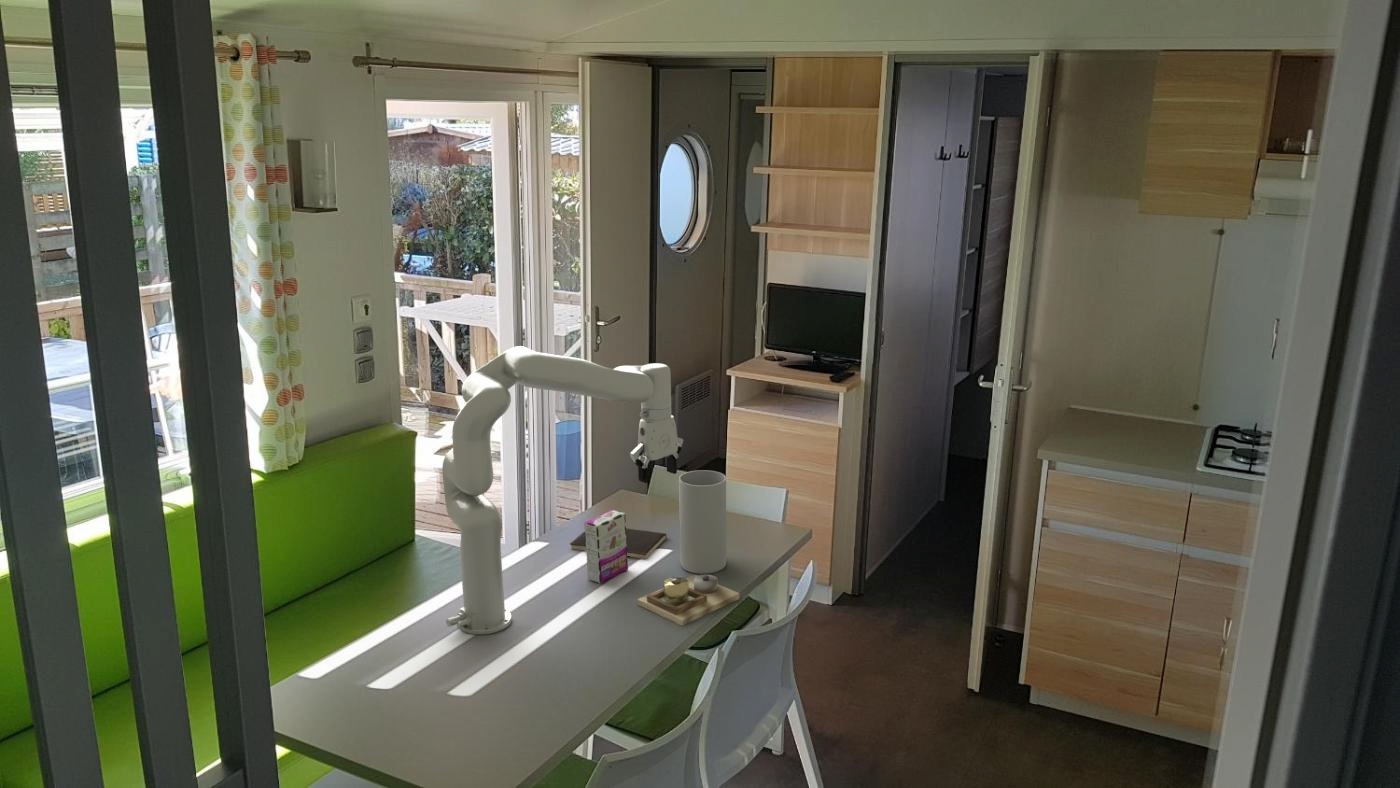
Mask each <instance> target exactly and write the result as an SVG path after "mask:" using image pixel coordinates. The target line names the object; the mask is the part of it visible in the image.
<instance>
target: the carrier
mask: <svg viewBox="0 0 1400 788" xmlns="http://www.w3.org/2000/svg"><path fill="white" fill-rule="evenodd" d="M685 579H687V580H688V586H689V601H688V602H686V603H684V604H682V605H679V606H673V605H671V604H669V603H667V602H665V601H664V587H662V588H660V589H658V590H656V591H654V592H651V593H649V594H646V595H644V596H641V597H640V598H637V606H640V607H641V608H643V609H646V610H648V611H650V612H652V613H654V614H656V615H659V616H660V617H662V618H664V619H667V620H668V621H671V622H673V623H675V624H677V625H679V626H685V625H686V624H688V623H691V622H693V621H696V620H698V619H700V618H701V617H705V616H706V615H708V614H710V613H713V612H715V611H717V610H719V609H720V608H724V607H725V606H727V605H730V604H731V603H735V602H736V601H738V600H740V592H737V591H735V590H732V589H730V588H728V587H725V586H723V585H720V584H718V583H719V582H718V577H716V575H715V576H714V575H712V574H699V575H697V574H693V575H690V576H688V577H686V578H685Z"/></svg>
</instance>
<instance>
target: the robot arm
mask: <svg viewBox="0 0 1400 788" xmlns="http://www.w3.org/2000/svg"><path fill="white" fill-rule="evenodd" d="M671 374H672V373H671V367H669V365H667V364H664V363H658V362H657V363H656V362H655V363H647V364H644V365H621V366H620V365H619V366H617V367H614V368H610V367H605V366H602V365H600V364H597V363H594V362H593V361H590V360H586V359H582V358H579V357H574V356H566V355H558V354H552V353H545V352H539V351H535V350H533V349H530V348H529V347H526V346H523V345H522V346H521V345H519V346H518V345H517V346H513V347H511V348H509V349H507V350H504V352H502V353H500V354H499V355H497V356H495V357H494V358H493V359H491V360H490V361H488V362H487V363H485V364H484V365H482V366H480V367H479V368H478V369H476V370H475V371H473V372H472V373H470V374H469V375H468V376H467V377H466V378H465V380H464V382H463V383H462V386H461V395H462V398H463V401H465V404H464V405H463V406H462V407H461V409H460V410H459V412H458V413H457V415H456V416H455V419H454V422H453V424H452V448H451V449H450V450H448V452H447V453H446V454H445V456H444V459H443V461H442V469H441V470H442V473H441V474H442V482H443V483H442V484H443V494H444V500H445V508H446V513H447V516H448V517H449V519H450V520H451V521H452V523H453V524H454V525H455V526H456V527H457V528H458V530H459V531H460V546H459V560H460V561H459V563H460V571H461V584H462V595H463V596H462V598H463V599H462V600H463V607H460V608H459V613H457V614H456V616H451V617H449V618H447V619H446V620H445V623H446V626H447V627H448V628H450V627H452V626H455V625H457V628H458V629H460V630H461V631H463V632H464V633H467V634H470V635H471V634H472V635H490V634H494V633H498V632H500V631H503V630H504V629H506V628H507V627H509V626H510V625H511V623H512V621H513V615H512V613H511V611H509V610H508V609H506V608H505V594H504V579H503V564H502V563H503V562H502V561H503V560H502V545H501V542H502V541H501V540H502V532H503V531H502V530H503V529H502V528H503V521H502V516H501V513H500V511H499V510H498V507H497V506H496V505H495V504H494V502H492V501H491V500H490V499H489V498H488V497H486V496H485V493H487V492H488V491H489V490H490V489H491V487H492V485H493V482H494V469H493V459H492V447H491V433H492V429H493V426H494V425H495V423H496V422H497V421H498V420H499V419H500V418H501V417H502V416H503V415H504V414H506V413H507V411H508V410H509V408H510V407H511V406H510V405H511V402H512V396H511V392H510V390H509V389H511V388H512V387H514V386H515V385H516V384H519V385H520V386H523V387H526V388H530V389H537V390H545V391H553V392H560V393H561V392H562V393H568V394H569V393H570V394H575V395H579V396H583V397H590V398H596V399H602V400H606V401H613V402H618V403H626V404H627V403H628V404H640V405H641V406H640V407H641V408H640V409H641V412H639V417H640V418H641V419H640V420H639V426H638V434H637V435H638V436H637V446H636V447H634V449H633V450H632V451H631V452H630V453H629V456H630V458H631V461H632V463H634V464H635V467H637V470H638V473H637V475H638V476H637V477H638V481H639V482H642V483H644V484H648V483H649V481H650V479H649V477H650V476H649V475H650V474H649V467H647V466H648V465H649V463H650V461H657V460H660V459H662V458H666V471H667V473H670V474H673V475H675V474H677V473H678V468H677V467H678V465H677V464H678V462H677V461H678V460H677V459H678V458H679V455H680V453H681V451H682V447H683V443H684V439H683V438H681V437H678V431H677V424H676V421H675V416H674V415H672V382H671V380H672V379H671V378H672V377H671V376H672V375H671Z"/></svg>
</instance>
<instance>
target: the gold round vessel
mask: <svg viewBox="0 0 1400 788" xmlns="http://www.w3.org/2000/svg"><path fill="white" fill-rule="evenodd" d="M663 588H664V601H665V602H667V603H669V604H671V605H673V606H679V605H682V604H684V603H686V602H688V601H689V586H688V580H687V579H686V578H685V577H683V576H673V577H669V578H666V579H664V582H663Z"/></svg>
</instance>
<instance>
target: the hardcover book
mask: <svg viewBox="0 0 1400 788" xmlns="http://www.w3.org/2000/svg"><path fill="white" fill-rule="evenodd" d="M666 539H667V533H665V532H657V531H650V530H642V529H634V528H627V527H626V541H627V556H630V557H629V558H634V557H635V559H641V558H642V560H646V559H647V558H648V557H649V556H650V555H651V554H652V553H653V552H654V551H655V550H656V549H657V548H658V547H659V546H660V545H661V544H662V543H663V542H664V541H665V540H666ZM569 545H570V546H571V550H576V549H578V550H577V551H583V550H586V537H585V531H583V532H582V533H581V534H579V535H578V536H577V537H576V538H575V539H574V540H572V541H571V542H570V543H569Z"/></svg>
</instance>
